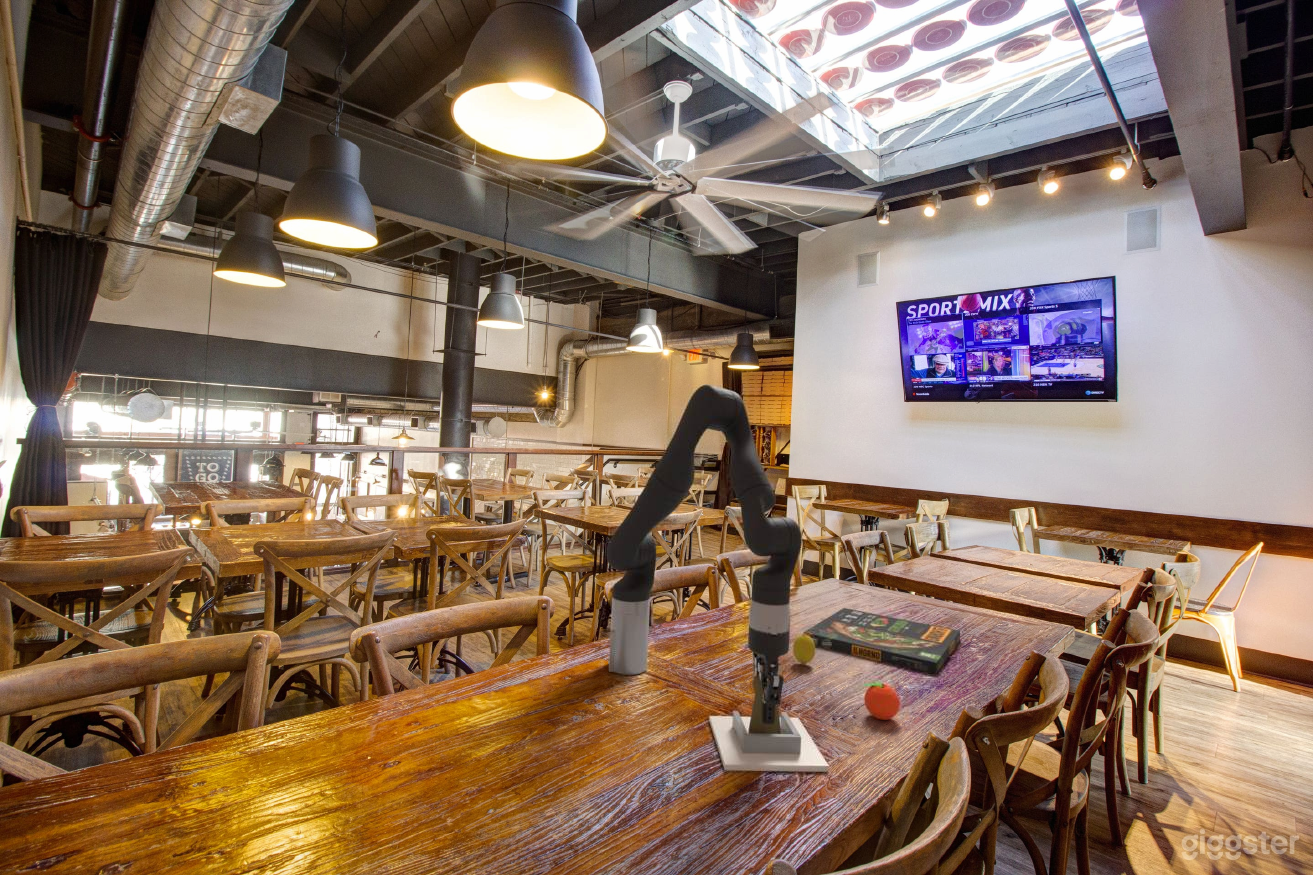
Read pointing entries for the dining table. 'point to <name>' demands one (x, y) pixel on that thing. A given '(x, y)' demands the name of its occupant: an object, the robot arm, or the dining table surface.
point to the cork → (756, 716)
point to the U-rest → (765, 746)
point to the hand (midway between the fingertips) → (765, 716)
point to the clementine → (881, 701)
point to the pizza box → (886, 639)
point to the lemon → (804, 649)
